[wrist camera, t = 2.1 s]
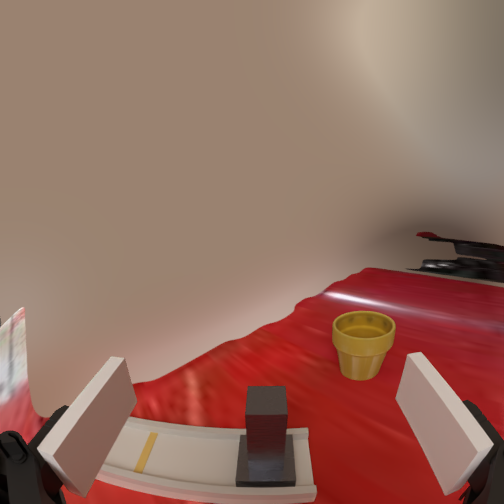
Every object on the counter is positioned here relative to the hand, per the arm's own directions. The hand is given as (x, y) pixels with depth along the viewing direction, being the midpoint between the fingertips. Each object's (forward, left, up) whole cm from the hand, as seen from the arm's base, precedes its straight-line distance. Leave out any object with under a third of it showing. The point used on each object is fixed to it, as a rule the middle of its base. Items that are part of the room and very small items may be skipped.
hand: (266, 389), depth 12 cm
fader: (0, +10, -20) cm, 22 cm away
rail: (-8, +10, -22) cm, 25 cm away
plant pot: (+16, +30, -22) cm, 40 cm away
